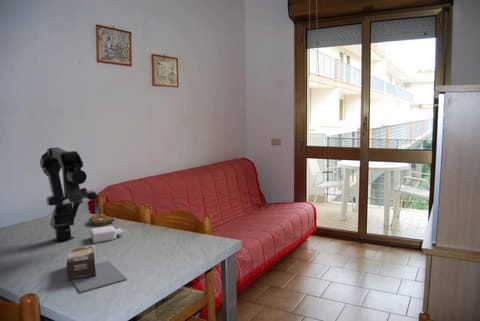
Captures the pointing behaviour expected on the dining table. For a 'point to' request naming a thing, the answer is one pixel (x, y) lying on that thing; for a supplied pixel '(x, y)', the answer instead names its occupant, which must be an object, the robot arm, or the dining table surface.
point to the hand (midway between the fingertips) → (73, 217)
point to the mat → (100, 278)
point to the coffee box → (81, 262)
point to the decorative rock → (101, 220)
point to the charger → (105, 233)
